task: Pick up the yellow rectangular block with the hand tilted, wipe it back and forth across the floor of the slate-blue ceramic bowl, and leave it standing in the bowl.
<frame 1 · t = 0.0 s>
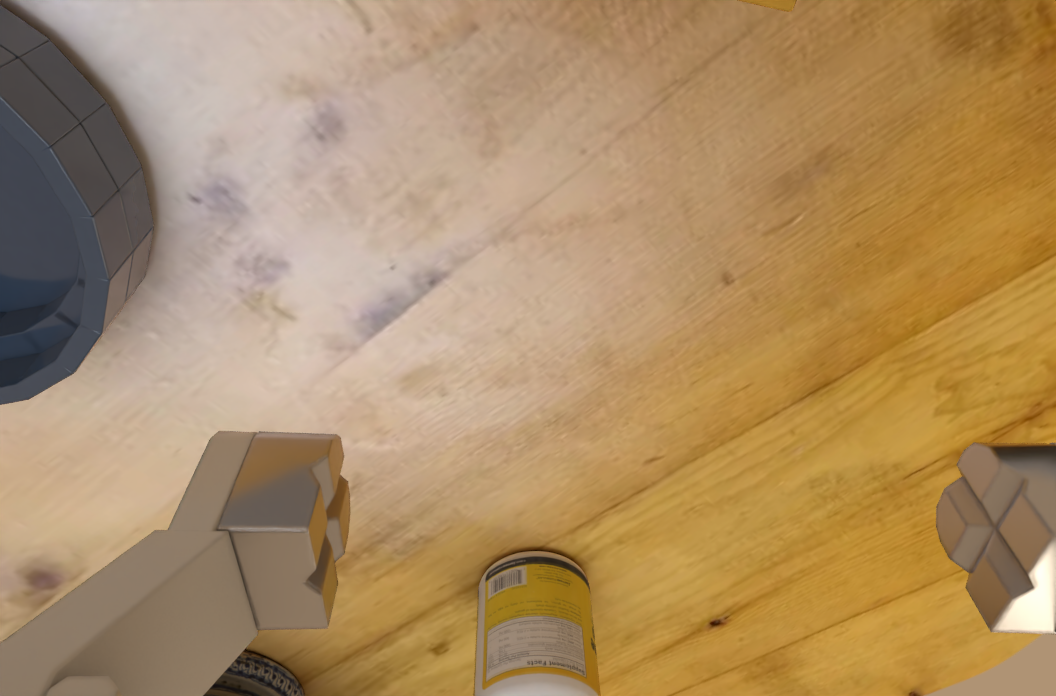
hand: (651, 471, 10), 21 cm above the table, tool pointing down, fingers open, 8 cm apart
decorative vase: (224, 686, 51), on the table
pill bottle: (533, 578, 45), on the table
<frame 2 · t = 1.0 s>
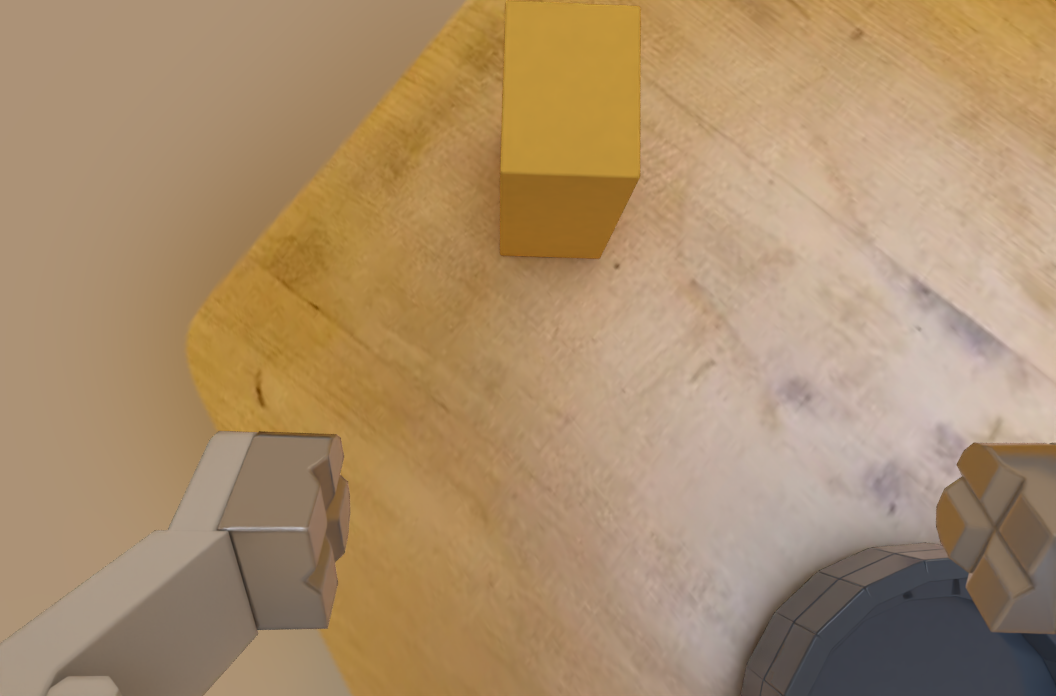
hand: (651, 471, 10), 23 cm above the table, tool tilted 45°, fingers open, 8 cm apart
yellow rectangular block: (551, 193, 35), on the table
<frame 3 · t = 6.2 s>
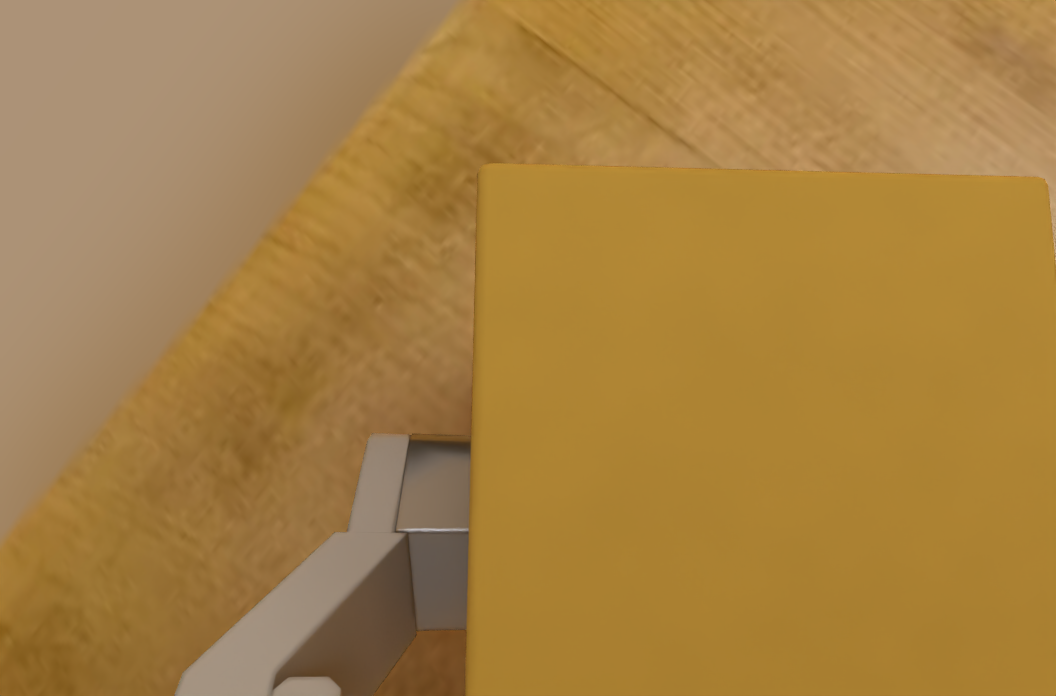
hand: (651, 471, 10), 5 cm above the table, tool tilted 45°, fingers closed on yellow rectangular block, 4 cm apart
yellow rectangular block: (602, 502, 15), on the table, touching gripper
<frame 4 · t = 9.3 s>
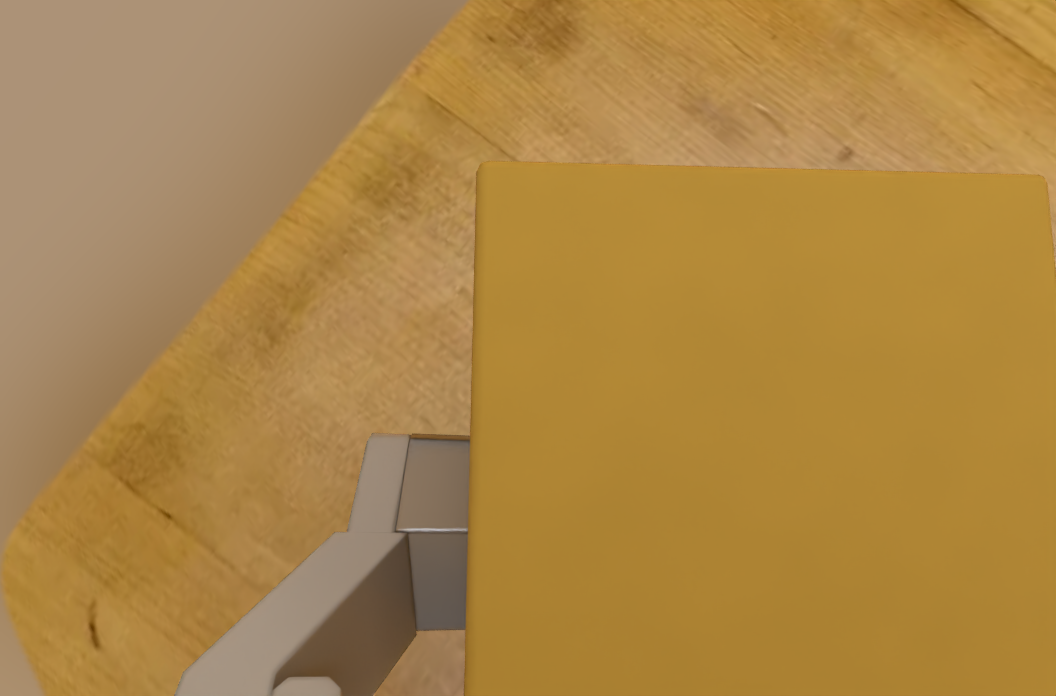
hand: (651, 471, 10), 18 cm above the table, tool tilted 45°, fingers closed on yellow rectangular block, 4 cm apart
yellow rectangular block: (601, 501, 15), point 12 cm above the table, touching gripper
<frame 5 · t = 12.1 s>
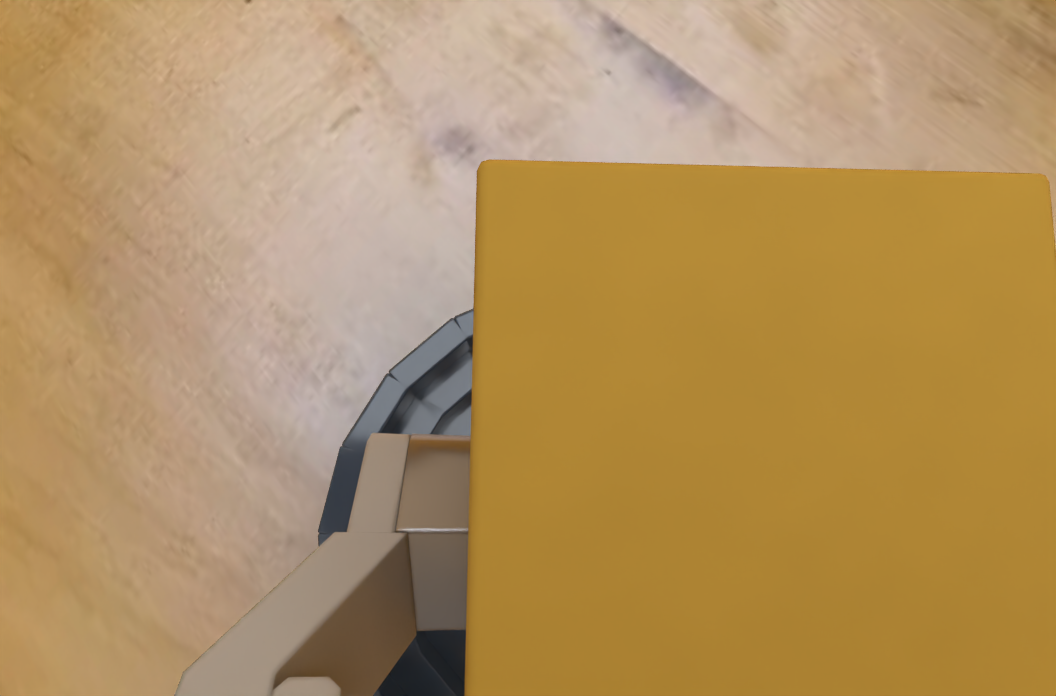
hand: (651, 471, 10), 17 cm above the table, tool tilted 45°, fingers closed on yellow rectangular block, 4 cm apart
bowl: (579, 534, 27), on the table
yellow rectangular block: (602, 501, 15), point 12 cm above the table, touching gripper
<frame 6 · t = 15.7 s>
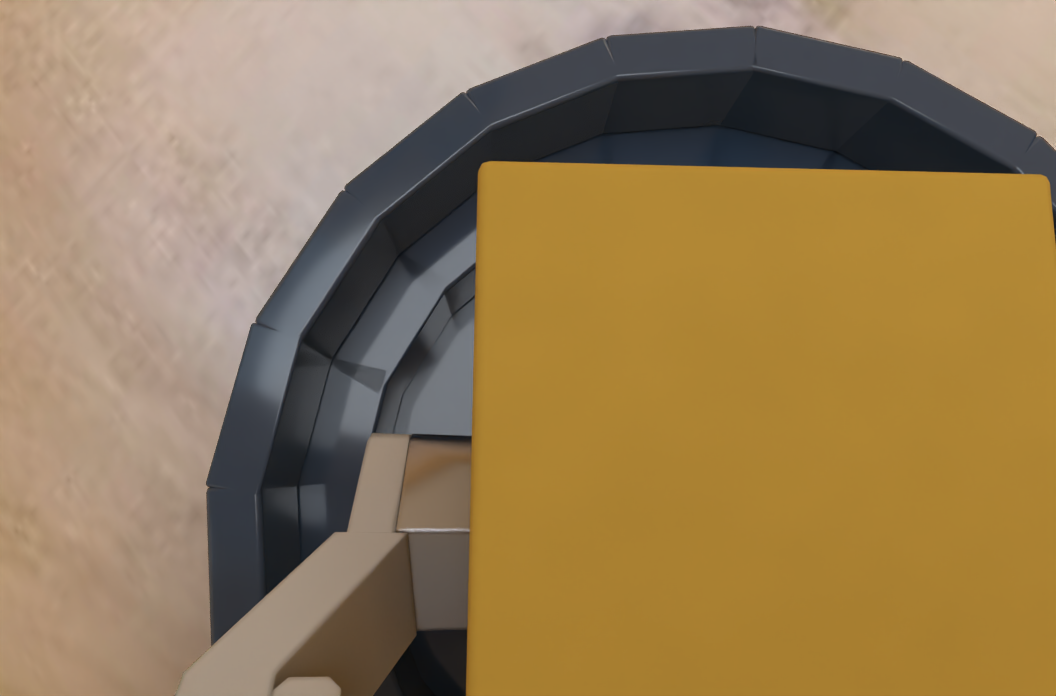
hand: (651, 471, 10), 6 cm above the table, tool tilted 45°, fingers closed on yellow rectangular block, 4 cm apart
bowl: (672, 504, 16), on the table
yellow rectangular block: (603, 502, 15), point 1 cm above the table, touching gripper
when the fingers open (6 cm above the table, at t = 18.4 s): yellow rectangular block stays where it is, resting on bowl.
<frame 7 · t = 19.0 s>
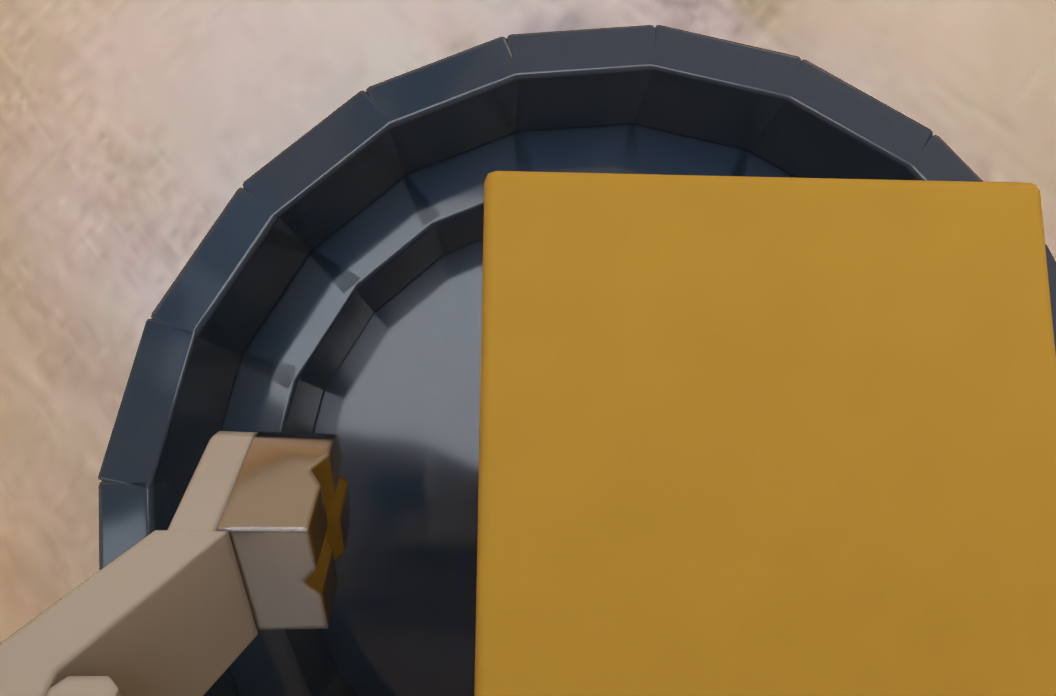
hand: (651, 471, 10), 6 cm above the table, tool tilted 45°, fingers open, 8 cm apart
bowl: (594, 499, 16), on the table, touching yellow rectangular block
yellow rectangular block: (603, 501, 16), point 1 cm above the table, touching bowl
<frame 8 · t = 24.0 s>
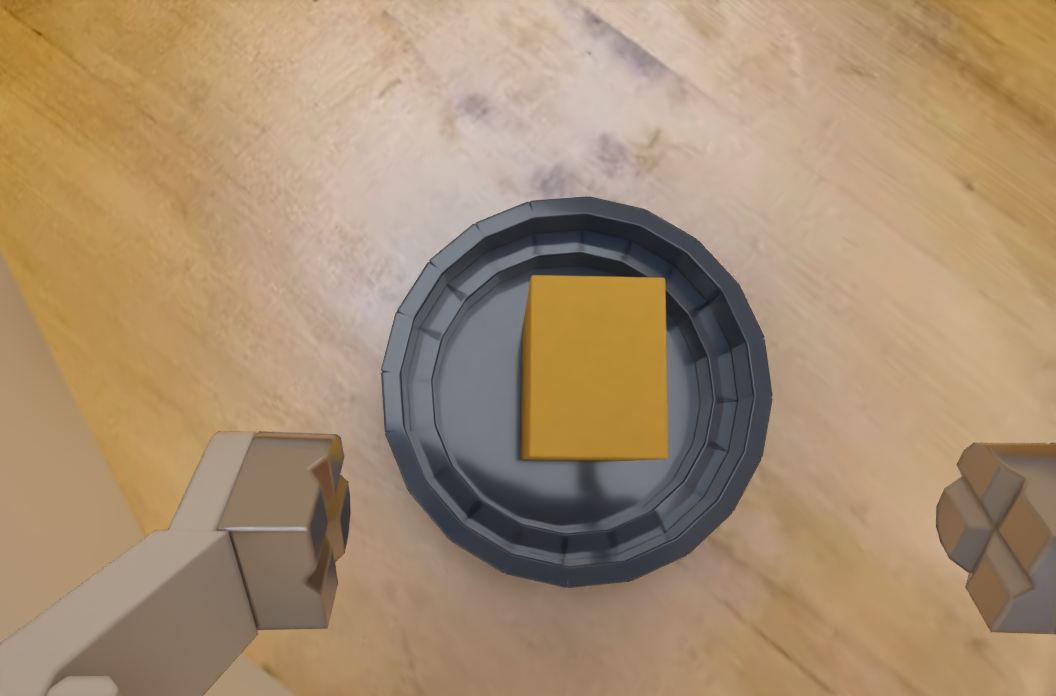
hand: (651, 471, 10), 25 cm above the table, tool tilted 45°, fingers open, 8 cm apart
bowl: (567, 395, 36), on the table, touching yellow rectangular block
yellow rectangular block: (570, 393, 35), point 1 cm above the table, touching bowl
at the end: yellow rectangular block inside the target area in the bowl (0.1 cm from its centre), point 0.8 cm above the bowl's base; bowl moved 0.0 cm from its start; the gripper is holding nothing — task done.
